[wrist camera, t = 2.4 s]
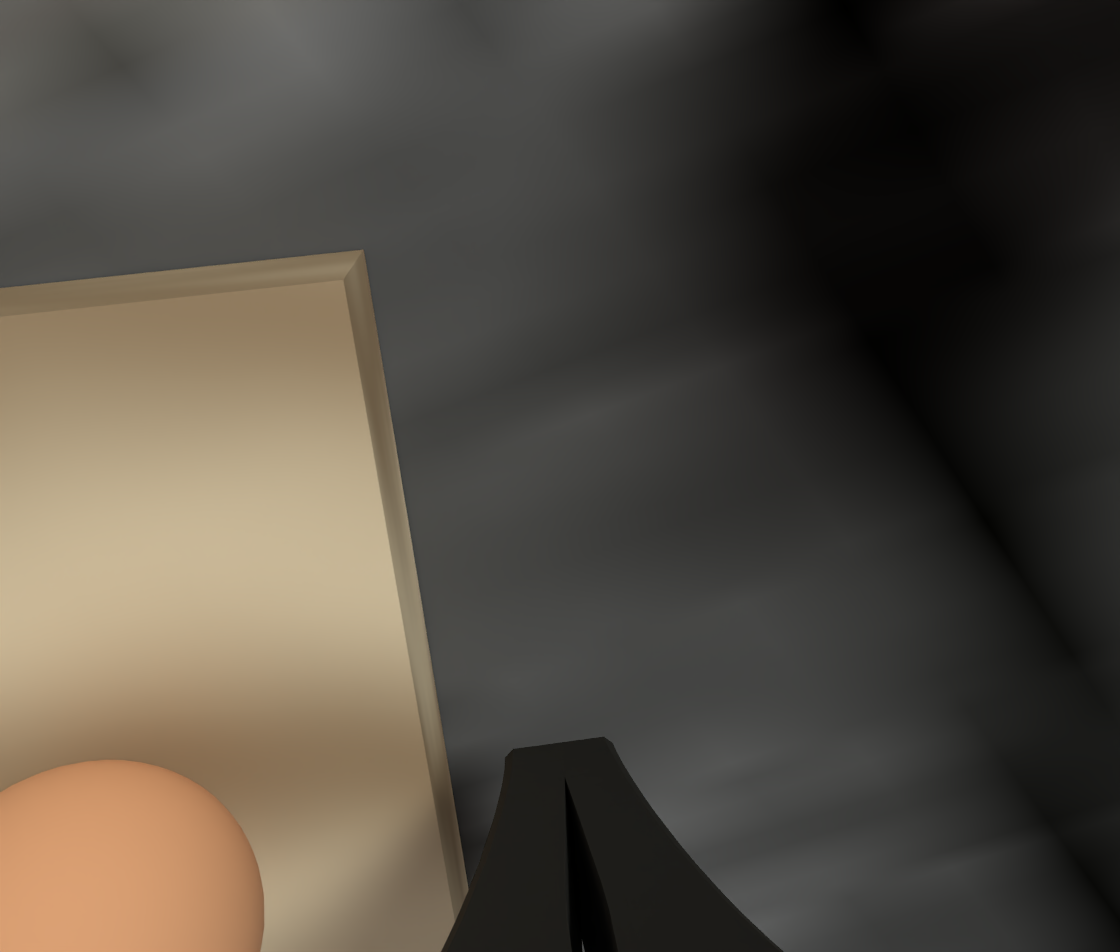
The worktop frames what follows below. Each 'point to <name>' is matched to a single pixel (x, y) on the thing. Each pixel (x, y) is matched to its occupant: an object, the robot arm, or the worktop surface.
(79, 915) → the ball
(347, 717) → the beige flat block
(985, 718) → the worktop surface
